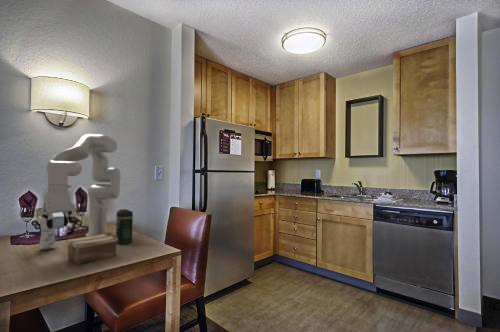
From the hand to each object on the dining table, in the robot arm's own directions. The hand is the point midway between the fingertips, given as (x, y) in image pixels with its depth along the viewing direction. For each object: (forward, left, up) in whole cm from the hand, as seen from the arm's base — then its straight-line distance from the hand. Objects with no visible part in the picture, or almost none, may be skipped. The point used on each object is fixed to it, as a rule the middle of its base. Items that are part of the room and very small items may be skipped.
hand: (57, 226), depth 123 cm
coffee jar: (-1, +32, -15) cm, 36 cm away
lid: (+12, +10, -7) cm, 18 cm away
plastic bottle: (-18, +1, -15) cm, 23 cm away
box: (+12, +10, -14) cm, 22 cm away
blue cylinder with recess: (0, 0, -1) cm, 1 cm away
